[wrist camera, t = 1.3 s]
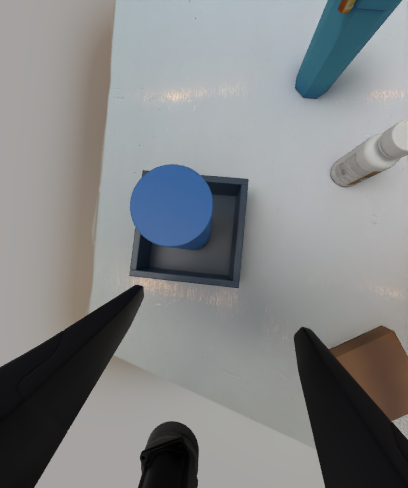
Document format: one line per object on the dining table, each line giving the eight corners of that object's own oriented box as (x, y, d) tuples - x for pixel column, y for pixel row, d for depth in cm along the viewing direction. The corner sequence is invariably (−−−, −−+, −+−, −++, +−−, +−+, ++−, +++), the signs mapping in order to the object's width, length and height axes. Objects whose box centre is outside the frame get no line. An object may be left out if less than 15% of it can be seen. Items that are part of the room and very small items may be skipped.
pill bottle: (349, 192, 23) (418, 163, 16) (324, 177, 24) (379, 140, 16) (364, 169, 24) (440, 128, 16) (339, 154, 24) (402, 106, 16)
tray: (232, 280, 23) (238, 288, 19) (145, 271, 24) (129, 275, 19) (240, 193, 24) (248, 178, 19) (155, 186, 25) (142, 170, 20)
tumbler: (181, 255, 23) (146, 259, 10) (168, 221, 23) (118, 182, 10) (216, 242, 23) (226, 228, 10) (203, 207, 23) (195, 151, 10)
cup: (314, 33, 25) (468, -292, 10) (357, 54, 25) (587, -255, 10) (271, 104, 25) (365, -125, 10) (314, 126, 24) (484, -78, 9)
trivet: (352, 422, 22) (362, 434, 20) (318, 354, 22) (326, 361, 21) (417, 392, 22) (432, 402, 20) (381, 325, 22) (394, 330, 21)
